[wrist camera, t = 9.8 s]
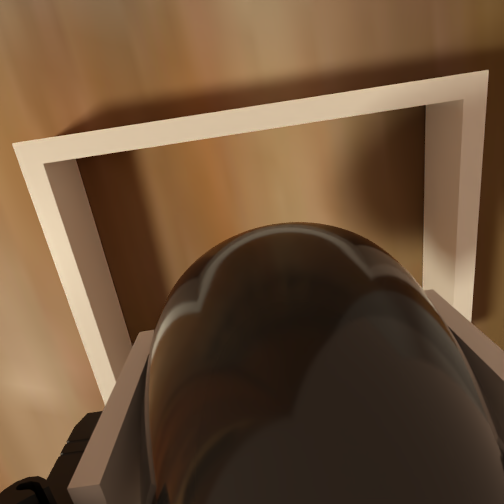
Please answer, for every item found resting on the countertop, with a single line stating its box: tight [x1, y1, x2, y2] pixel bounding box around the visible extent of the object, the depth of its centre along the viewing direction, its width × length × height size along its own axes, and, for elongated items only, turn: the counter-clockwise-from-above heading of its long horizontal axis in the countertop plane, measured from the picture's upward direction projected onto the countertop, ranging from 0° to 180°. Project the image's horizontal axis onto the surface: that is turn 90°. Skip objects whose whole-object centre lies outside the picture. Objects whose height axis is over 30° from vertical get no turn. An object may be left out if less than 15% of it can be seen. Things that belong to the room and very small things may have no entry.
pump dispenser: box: [140, 222, 504, 504], centre depth 10 cm, size 10×10×15 cm
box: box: [12, 70, 489, 405], centre depth 23 cm, size 24×18×4 cm
